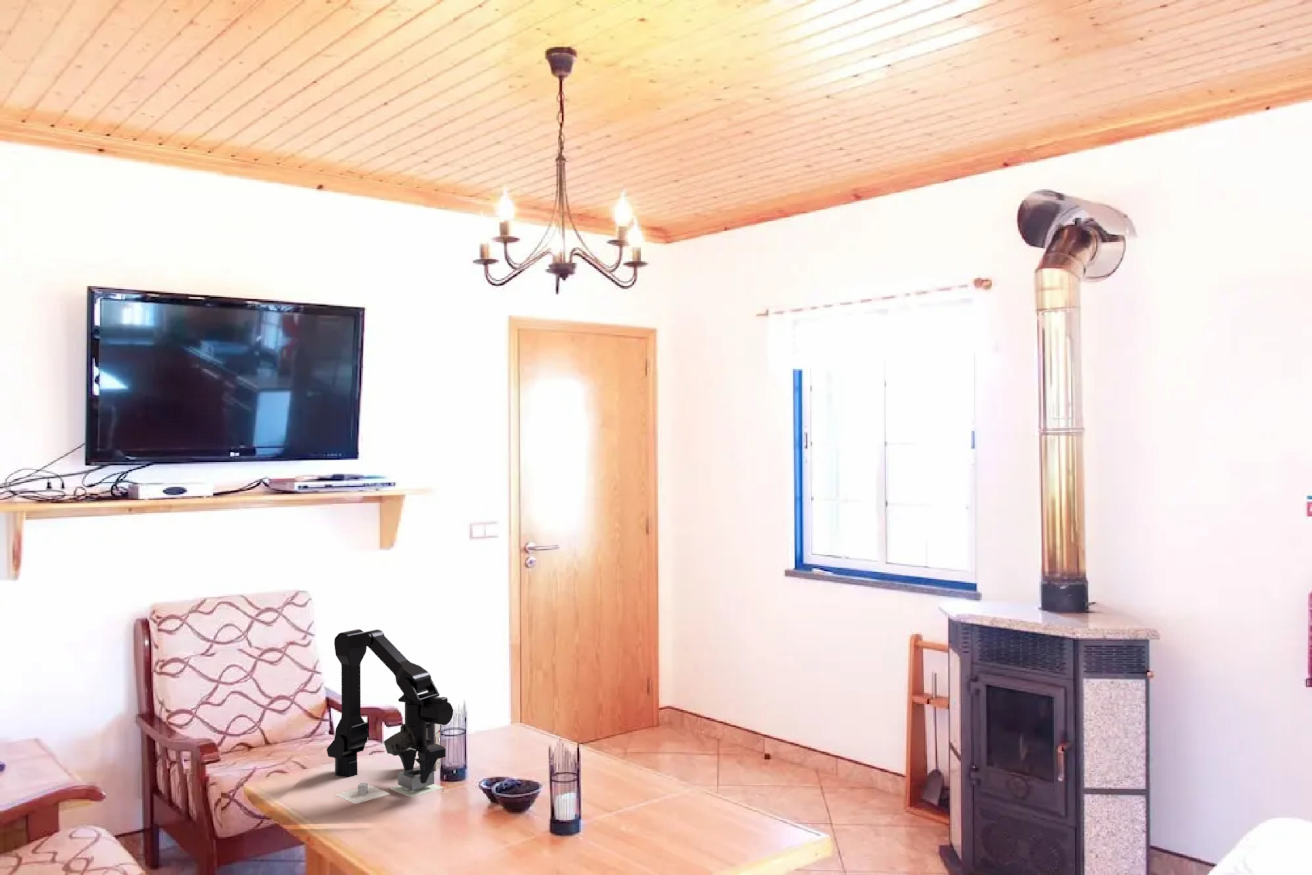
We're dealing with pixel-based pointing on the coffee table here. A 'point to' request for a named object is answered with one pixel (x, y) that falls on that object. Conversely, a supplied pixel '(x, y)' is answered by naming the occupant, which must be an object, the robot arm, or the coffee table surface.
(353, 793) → the plate stand
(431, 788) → the hub board
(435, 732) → the calculator
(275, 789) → the coffee table surface
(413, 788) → the grey socket block
